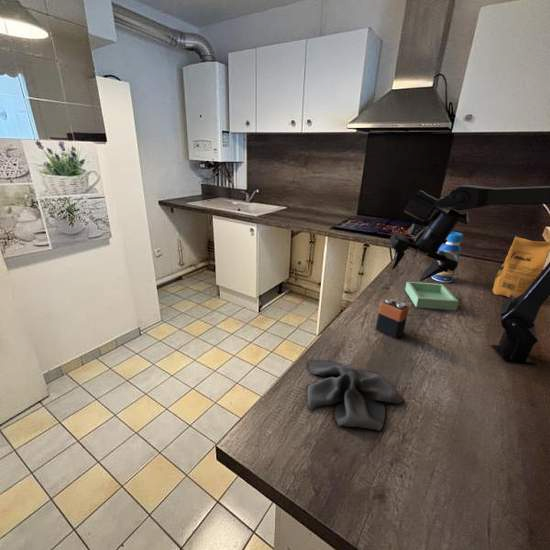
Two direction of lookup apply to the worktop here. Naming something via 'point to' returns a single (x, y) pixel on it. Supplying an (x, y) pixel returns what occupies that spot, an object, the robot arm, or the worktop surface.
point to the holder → (431, 296)
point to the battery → (392, 317)
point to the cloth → (352, 394)
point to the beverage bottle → (452, 248)
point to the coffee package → (521, 267)
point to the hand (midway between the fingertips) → (406, 274)
